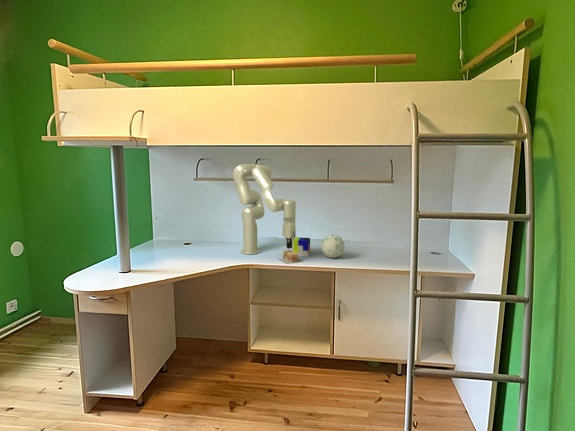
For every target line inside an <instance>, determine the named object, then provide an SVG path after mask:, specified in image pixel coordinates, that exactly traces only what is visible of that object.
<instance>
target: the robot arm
mask: <svg viewBox="0 0 575 431" xmlns="http://www.w3.org/2000/svg"><path fill="white" fill-rule="evenodd" d="M249 177H251V178H252V177H253V179H254V180H255V182H256V183H257V185H258V186H259V188H260V189H261V191H262V194H260V192H259V191H257V190H255V189H252V190H251V187H250V183H249V182H248V180H247V179H246V178H249ZM270 177H272V171H271V169H270V168H269V167H268V166H267V165H262V164H261V165H260V164H254V163H244V164H239V165H237V166H236V167H235V168H234V170H233V173H232V178H233V181H234V183H235V186H236V190H237V194H238V199H239V201H240V203H241V204H242V205H243V206H246V207H244V208H243V209H242V211H241V219H242V230H243V234H242V235H243V236H242V239H243V240H242V242H243V245H242V246H243V247H242V248H243V249H242V250H241V251H240V252H241V254H243V255H257V254H259V253H260V249H258V225H257V222H256V220H260V219H262V218H263V217H264V215H265V207H264V204H265V205H266V207H267V208H268V210H269V211H271V212H272V213H277V212H280V211H283V224H282V232H281V233H282V237H284V238H285V241H286V249H288V250H290V249H293V240H294V239H295V238H296V237H297V226H296V221H297V220H296V206H297V205H296V204H297V203H296V201H295V200H293V199H286V198H276V199H275V197H274V195H273V194H272V191H271V190H272V189H273V187H274V183H273V181H272V179H271V178H270ZM261 195H262V197H261ZM248 205H249V206H248ZM250 205H251V206H250Z"/></svg>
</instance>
